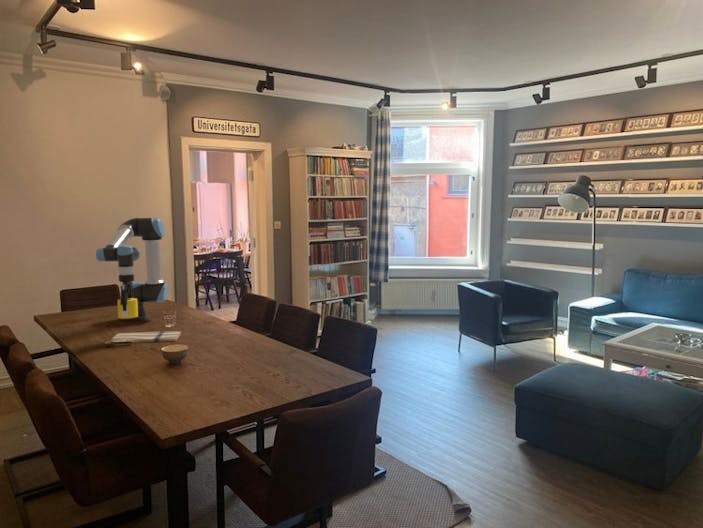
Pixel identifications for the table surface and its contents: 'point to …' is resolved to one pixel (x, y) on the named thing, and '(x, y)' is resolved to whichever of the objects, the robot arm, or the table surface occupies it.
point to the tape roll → (129, 308)
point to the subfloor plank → (147, 336)
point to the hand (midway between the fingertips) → (128, 314)
